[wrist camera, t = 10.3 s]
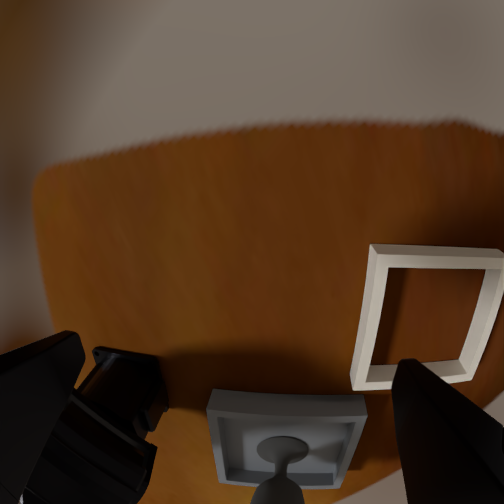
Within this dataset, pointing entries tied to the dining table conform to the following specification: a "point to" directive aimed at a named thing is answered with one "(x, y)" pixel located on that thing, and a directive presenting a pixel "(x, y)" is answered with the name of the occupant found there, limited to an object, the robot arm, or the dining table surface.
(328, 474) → the tray
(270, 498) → the sundae
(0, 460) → the robot arm
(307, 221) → the dining table surface
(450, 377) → the white square frame
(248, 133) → the dining table surface
